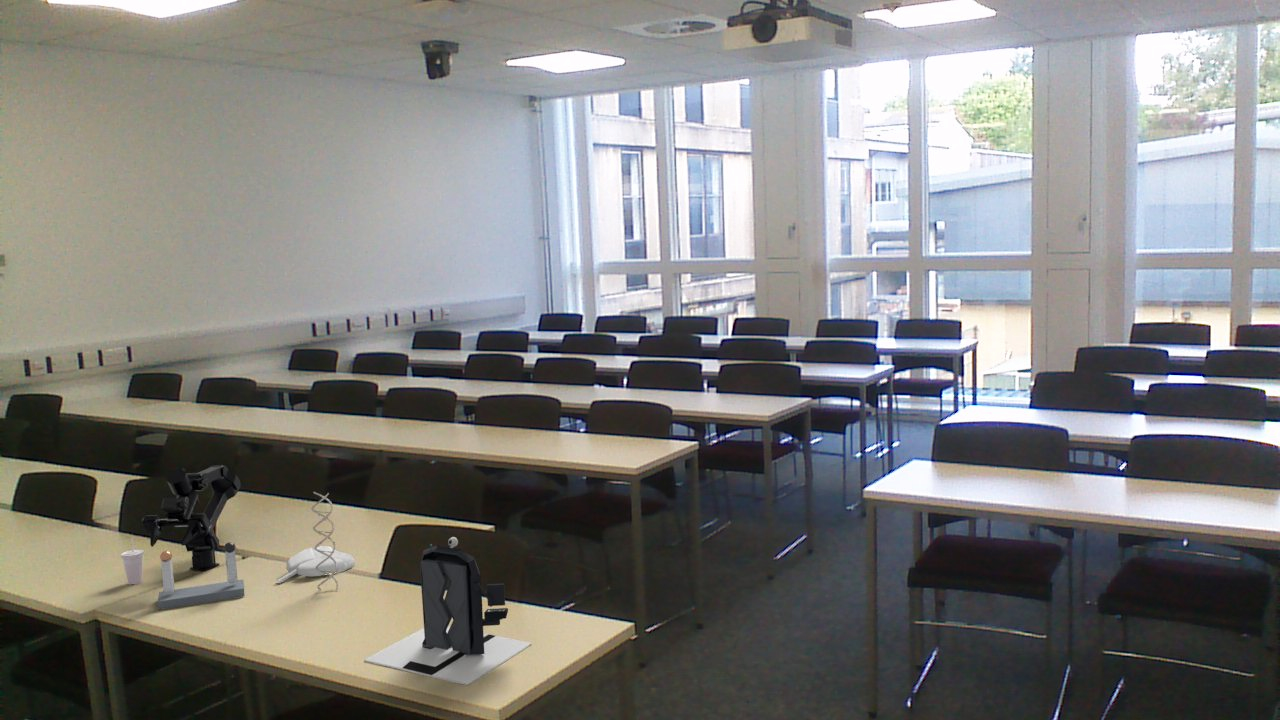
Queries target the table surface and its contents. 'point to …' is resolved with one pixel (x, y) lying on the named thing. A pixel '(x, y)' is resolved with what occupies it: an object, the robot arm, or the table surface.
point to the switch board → (200, 594)
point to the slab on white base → (462, 644)
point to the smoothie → (133, 564)
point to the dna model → (325, 539)
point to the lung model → (317, 562)
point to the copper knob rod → (167, 571)
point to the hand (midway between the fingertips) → (167, 545)
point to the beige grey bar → (231, 562)
